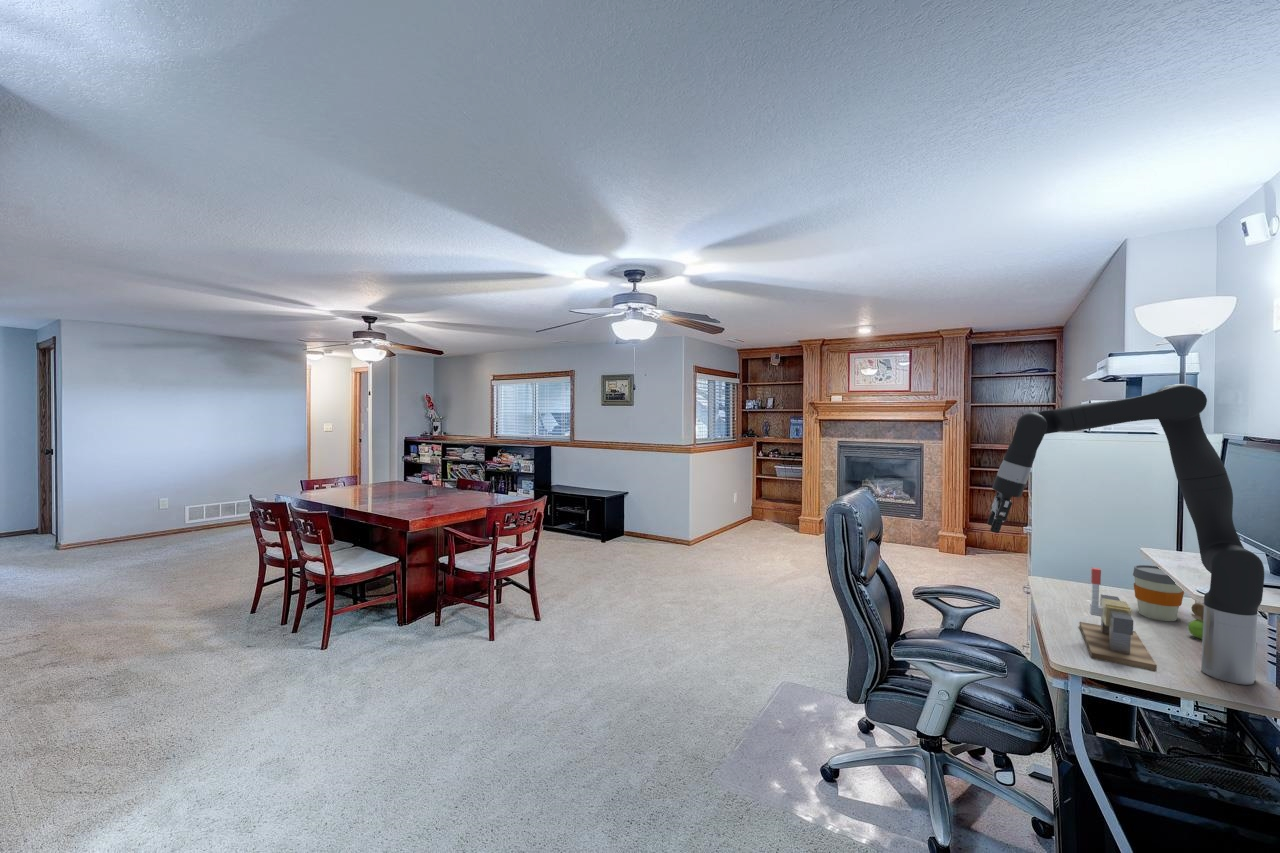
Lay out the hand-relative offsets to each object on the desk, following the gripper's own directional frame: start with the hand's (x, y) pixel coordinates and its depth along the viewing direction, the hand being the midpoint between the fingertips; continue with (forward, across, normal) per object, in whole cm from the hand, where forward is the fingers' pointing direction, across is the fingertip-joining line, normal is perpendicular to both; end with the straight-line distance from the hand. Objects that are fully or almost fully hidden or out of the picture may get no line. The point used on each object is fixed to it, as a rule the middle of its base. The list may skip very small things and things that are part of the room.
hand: (992, 528), depth 166 cm
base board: (+22, +2, -38) cm, 44 cm away
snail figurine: (+17, +21, -62) cm, 67 cm away
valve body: (+21, +2, -37) cm, 43 cm away
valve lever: (+15, +3, -31) cm, 35 cm away
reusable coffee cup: (+19, +40, -57) cm, 72 cm away
